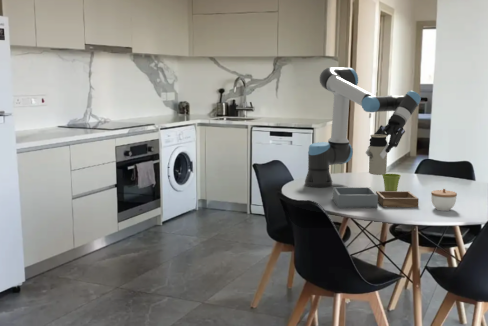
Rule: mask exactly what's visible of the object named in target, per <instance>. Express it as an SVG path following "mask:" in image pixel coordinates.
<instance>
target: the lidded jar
mask: <svg viewBox="0 0 488 326" xmlns="http://www.w3.org/2000/svg"><path fill="white" fill-rule="evenodd" d="M430 195H431V202H432V205H433V207H434V208H435V209H436V210H437V211H442V212H443V211H444V212H448V211H451V209H453V208H454V206H455V205H456V202H457V195H458V194H457V192H455V191H453V190H446V188H442V189H436V190H432V191H431V194H430Z"/></svg>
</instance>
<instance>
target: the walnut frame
mask: <svg viewBox="0 0 488 326" xmlns="http://www.w3.org/2000/svg"><path fill="white" fill-rule="evenodd" d="M375 193H376V194H377V195H378V204H380V206H381V207H382V208H419V200H420V199H419V197H417V196H416V195H415V194H413V193H411V192H410V191H409V190H408V191H404V190H403V191H402V190H401V191H400V190H399V191H398V190H397V191H385V190H384V191H383V190H380V191H378V190H377V191H375Z"/></svg>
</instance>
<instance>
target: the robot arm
mask: <svg viewBox="0 0 488 326" xmlns="http://www.w3.org/2000/svg"><path fill="white" fill-rule="evenodd" d="M358 76H359V75H358V73H357V71H355V69H354V68H352V67H347V66H345V67H343V66H342V67H339V66H338V67H337V66H336V67H333V66H332V67H330V66H329V67H326V68H325V69H323V70H322V71H321V72H320V74H319V83H320V85H321V87H322V88H324V89H325V90H326V91H329V92H331V93H332V94H333V105H332V107H333V108H332V121H331V136H330V138H329V139H328V140H327V141H321V142H319V141H318V142H313V143H311V144H310V145H309V146H308V152H307V153H308V160H307V162H308V165H307V166H308V167H307V168H308V169H307V174H306V176H305V179H304V185H305V186H306V187H311V188H328V187H332V186H333V180H332V177H331V172H330V166H333V165H335V166H336V165H343V164H347V163H348V162H349V161H351V159H352V157H353V153H354V151H353V150H354V149H353V148H352V145H351V144H350V141H349V139H348V138H347V137H348V125H349V110H350V109H349V108H350V101H351V102H354V103H355V104H357V105H360V106H361V107H362V109H363V111H364V112H366V113H377V112H378V113H380V112H381V113H382V112H393V113H392V114H391V116H390V117H389V119H388V120H387V121H388V122H387V124H386V125H382V124H381V125H380V126H379V127H378V129H377V130H376V131H375V133H374V134H381V135H387V137H388V136H389V141H388V142H387V145H386V146H385V148H384V149H383V151H382V152H381V154H380V156H381V158H382V159H384V157H385V156H386V154H387V155H388V154H389V152H390V151H391V149H392V148H398V145H399V144H400V142H401V139H402V137H403V135H404V134H405V133H406V131H405V129H404V127H405V125H406V123H407V122H408V121H409V119H410V117H411V116H412V115H413V113H414V111H416V109H417V107H418V106H419V104H420V103H421V99H422V97H421V95H420V94H419V93H418V92H416V91H413V90H409V91H408V92H406V93H405V95H380V96H379V95H376V94H374V93H371V92H370V91H367V90H365V89H364V88H361V87H360V86H358V85H359V84H358V83H359V77H358ZM370 141H371V137H370V138H369V142H370ZM369 148H370V145H369V146H368V147H367V150H366V151H365V154H366V155H367V157H369Z"/></svg>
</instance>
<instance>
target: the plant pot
mask: <svg viewBox="0 0 488 326" xmlns="http://www.w3.org/2000/svg"><path fill="white" fill-rule="evenodd" d="M381 176H382V178H383V186H384V191H398V186H399V182H400V178H401V174H398V173H386V174H383V175H381Z"/></svg>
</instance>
